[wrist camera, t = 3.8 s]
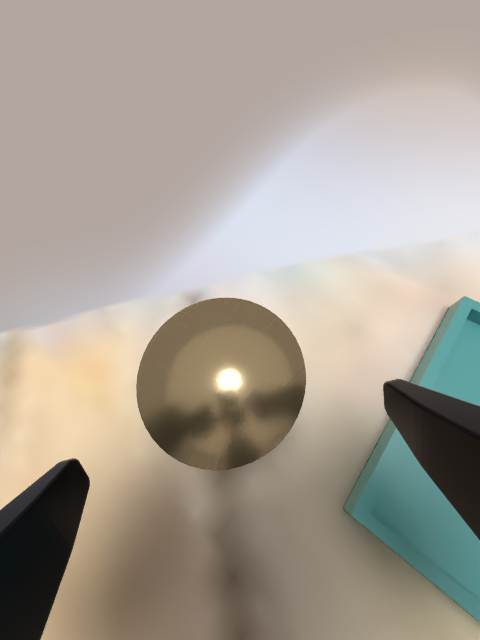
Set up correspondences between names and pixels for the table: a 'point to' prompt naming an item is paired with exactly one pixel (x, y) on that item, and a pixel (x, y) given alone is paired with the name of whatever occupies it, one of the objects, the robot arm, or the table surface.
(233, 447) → the grey tin
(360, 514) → the teal tray
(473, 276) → the table surface
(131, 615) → the table surface
